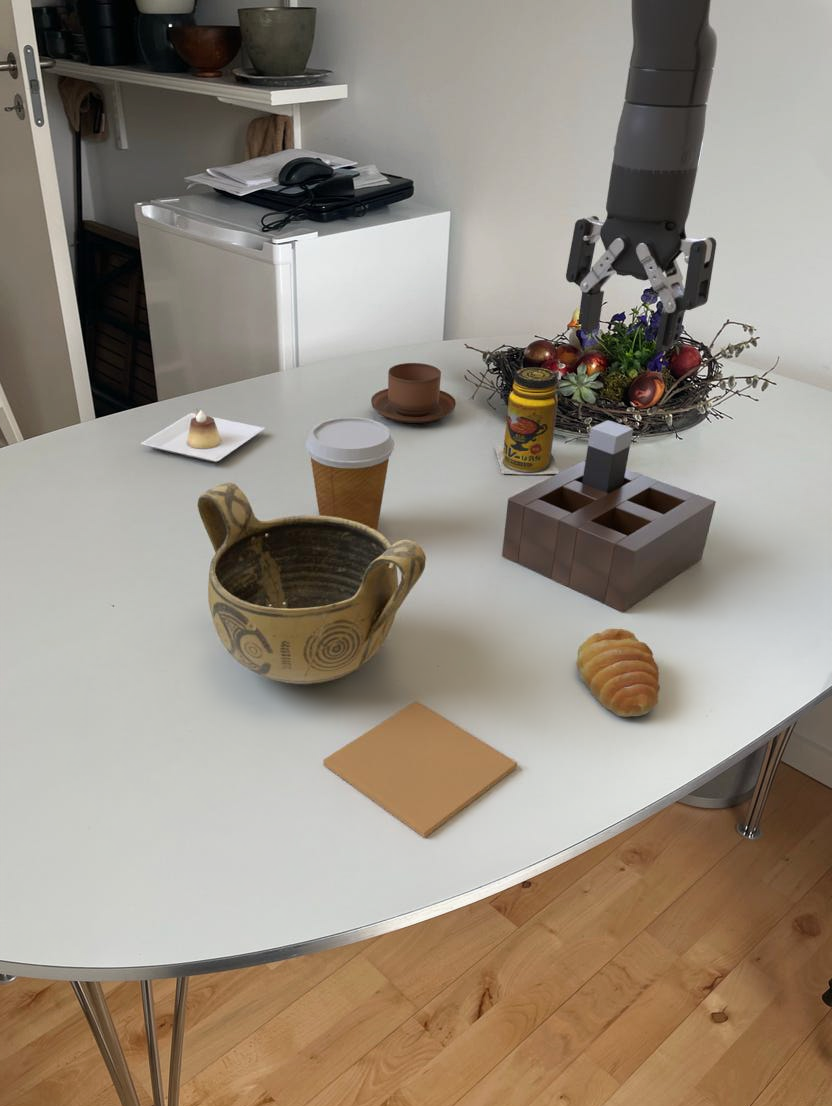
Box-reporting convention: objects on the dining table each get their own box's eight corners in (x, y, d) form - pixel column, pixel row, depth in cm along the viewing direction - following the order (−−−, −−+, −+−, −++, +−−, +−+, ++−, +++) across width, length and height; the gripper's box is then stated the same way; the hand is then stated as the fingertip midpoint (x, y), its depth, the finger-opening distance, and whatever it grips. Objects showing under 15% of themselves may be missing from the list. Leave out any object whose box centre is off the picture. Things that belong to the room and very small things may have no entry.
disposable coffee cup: (357, 505, 115) (359, 408, 108) (408, 536, 109) (413, 436, 102) (290, 527, 110) (287, 428, 104) (339, 561, 104) (339, 458, 97)
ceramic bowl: (457, 659, 90) (470, 514, 81) (350, 758, 78) (352, 603, 70) (271, 583, 100) (265, 449, 92) (153, 662, 89) (133, 516, 80)
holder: (701, 559, 105) (716, 501, 101) (622, 612, 96) (635, 551, 92) (583, 511, 114) (592, 456, 110) (501, 556, 105) (507, 498, 101)
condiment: (502, 475, 122) (512, 382, 115) (493, 447, 129) (502, 359, 122) (559, 475, 122) (573, 383, 115) (548, 447, 129) (560, 359, 122)
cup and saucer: (363, 401, 142) (364, 359, 139) (442, 396, 144) (445, 355, 141) (380, 433, 133) (381, 389, 129) (464, 427, 135) (468, 384, 131)
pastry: (674, 721, 83) (683, 685, 80) (597, 725, 82) (603, 689, 80) (639, 656, 90) (646, 622, 88) (568, 660, 90) (573, 626, 88)
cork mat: (516, 768, 78) (517, 762, 77) (424, 838, 71) (424, 832, 71) (416, 705, 84) (416, 700, 84) (323, 765, 78) (323, 759, 77)
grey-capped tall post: (613, 537, 109) (633, 428, 102) (597, 546, 107) (616, 436, 100) (589, 527, 111) (607, 419, 104) (573, 536, 109) (590, 427, 102)
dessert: (191, 419, 136) (188, 386, 133) (265, 435, 132) (264, 401, 129) (140, 451, 127) (136, 416, 124) (218, 469, 123) (215, 433, 120)
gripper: (749, 164, 85) (709, 347, 94) (611, 146, 93) (587, 316, 103) (706, 175, 81) (668, 365, 90) (565, 154, 89) (544, 331, 98)
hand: (625, 339), depth 96 cm, fingers open, 8 cm apart
